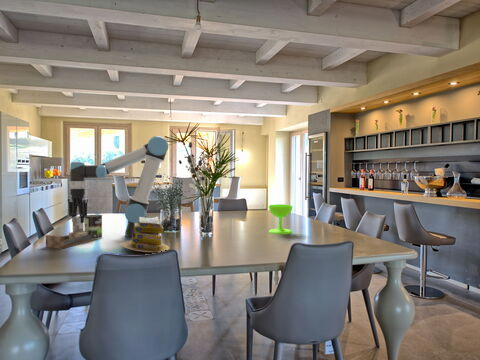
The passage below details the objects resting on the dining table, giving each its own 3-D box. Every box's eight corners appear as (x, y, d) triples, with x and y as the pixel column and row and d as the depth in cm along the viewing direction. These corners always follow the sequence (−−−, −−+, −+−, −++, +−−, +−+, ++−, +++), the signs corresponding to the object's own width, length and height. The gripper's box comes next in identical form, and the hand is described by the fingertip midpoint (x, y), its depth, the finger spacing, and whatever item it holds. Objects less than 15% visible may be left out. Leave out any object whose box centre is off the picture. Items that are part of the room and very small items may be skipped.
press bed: (92, 241, 202) (92, 230, 202) (61, 248, 183) (61, 236, 183) (76, 239, 207) (76, 228, 206) (45, 247, 187) (45, 235, 187)
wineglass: (294, 234, 224) (294, 207, 223) (269, 234, 224) (269, 206, 224) (290, 230, 240) (290, 204, 239) (267, 229, 240) (267, 204, 240)
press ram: (88, 238, 202) (88, 216, 202) (79, 240, 196) (79, 217, 196) (78, 237, 205) (78, 215, 205) (68, 239, 199) (68, 217, 198)
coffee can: (105, 237, 215) (105, 214, 215) (95, 240, 205) (95, 216, 204) (91, 236, 217) (90, 214, 217) (80, 239, 207) (80, 216, 206)
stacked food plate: (172, 244, 195) (172, 214, 195) (164, 254, 171) (164, 221, 170) (128, 244, 194) (128, 215, 194) (114, 255, 170) (114, 221, 169)
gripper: (61, 188, 199) (61, 228, 200) (83, 189, 193) (84, 230, 193) (71, 187, 206) (72, 226, 207) (93, 188, 200) (94, 228, 200)
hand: (78, 228), depth 200 cm, fingers closed on press ram, 4 cm apart
